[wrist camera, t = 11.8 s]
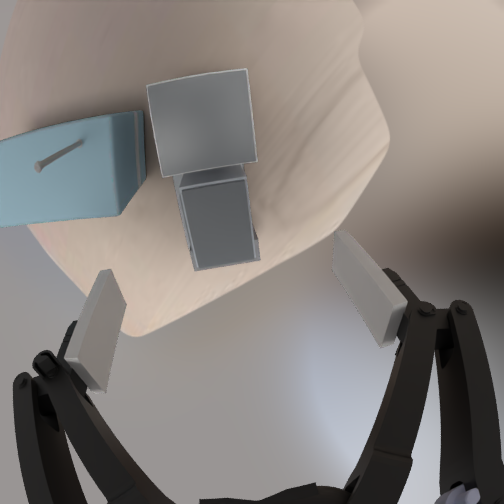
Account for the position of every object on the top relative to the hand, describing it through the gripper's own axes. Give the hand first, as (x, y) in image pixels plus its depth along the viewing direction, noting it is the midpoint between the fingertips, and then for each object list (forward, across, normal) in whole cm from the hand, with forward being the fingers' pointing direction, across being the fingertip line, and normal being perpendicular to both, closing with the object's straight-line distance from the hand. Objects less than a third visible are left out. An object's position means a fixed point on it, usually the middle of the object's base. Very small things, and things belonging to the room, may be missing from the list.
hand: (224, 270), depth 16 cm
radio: (+19, -15, +6) cm, 25 cm away
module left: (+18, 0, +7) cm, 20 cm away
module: (+15, 0, 0) cm, 15 cm away
